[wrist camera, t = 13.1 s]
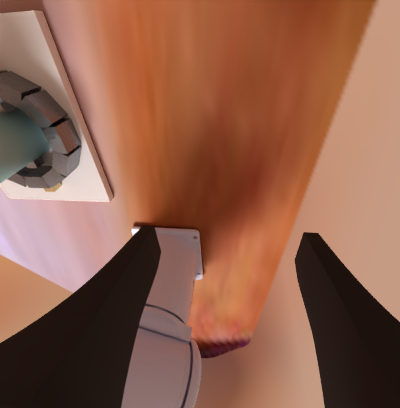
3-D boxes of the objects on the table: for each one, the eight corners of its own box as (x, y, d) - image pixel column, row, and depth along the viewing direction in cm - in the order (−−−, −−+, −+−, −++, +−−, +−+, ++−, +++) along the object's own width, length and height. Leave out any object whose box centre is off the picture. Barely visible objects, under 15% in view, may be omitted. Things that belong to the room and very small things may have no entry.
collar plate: (113, 197, 24) (101, 214, 21) (14, 194, 25) (-7, 210, 23) (42, 10, 14) (7, 8, 12) (-109, 24, 16) (-163, 25, 14)
